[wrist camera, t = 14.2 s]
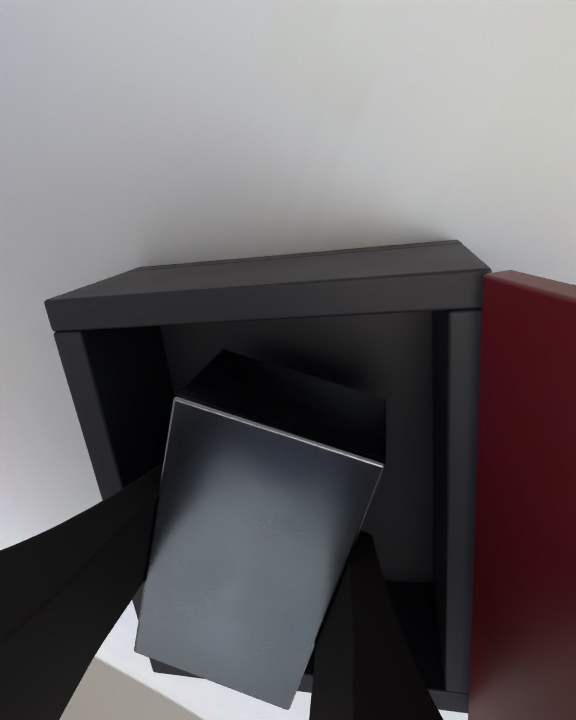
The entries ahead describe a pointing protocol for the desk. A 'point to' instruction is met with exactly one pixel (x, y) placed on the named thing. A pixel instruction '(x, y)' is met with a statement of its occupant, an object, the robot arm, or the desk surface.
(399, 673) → the robot arm
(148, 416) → the case
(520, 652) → the cover
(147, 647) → the gray metal box
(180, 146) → the desk surface
